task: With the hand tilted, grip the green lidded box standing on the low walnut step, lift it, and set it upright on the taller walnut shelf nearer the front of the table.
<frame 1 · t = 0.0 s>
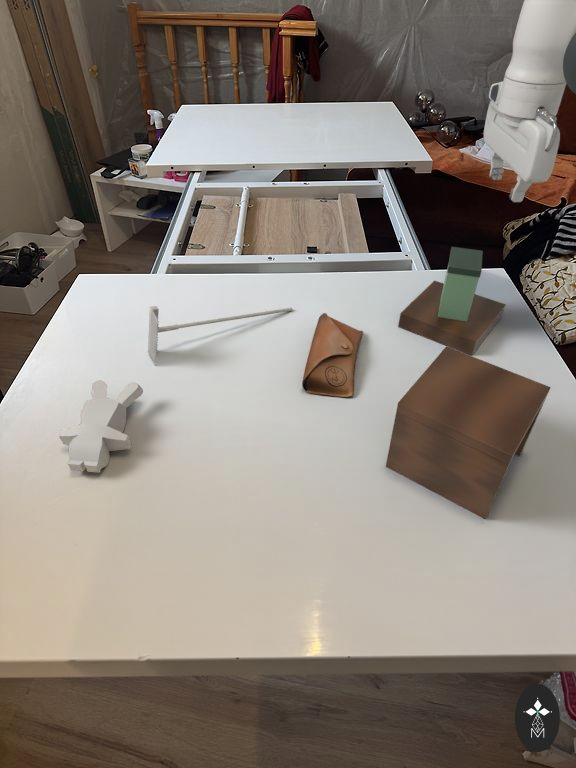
hand: (504, 189, 90), 21 cm above the table, tool pointing down, fingers open, 8 cm apart
white musician cutout: (106, 436, 77), on the table
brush: (221, 335, 95), on the table
green lidded box: (453, 308, 95), point 3 cm above the table, touching lower shelf
upper shelf: (455, 458, 73), on the table
sunglasses case: (334, 361, 89), on the table
lower shelf: (450, 322, 97), on the table
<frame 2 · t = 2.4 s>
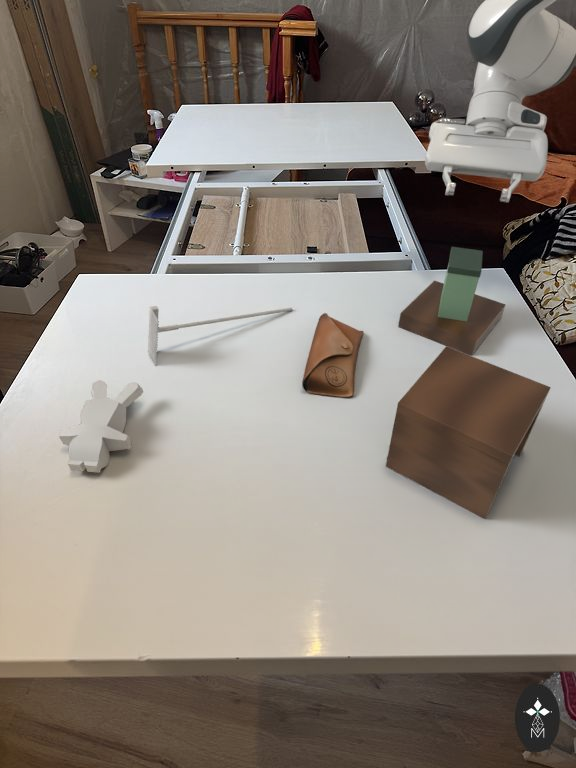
hand: (476, 197, 94), 19 cm above the table, tool tilted 45°, fingers open, 8 cm apart
nothing on the table moved.
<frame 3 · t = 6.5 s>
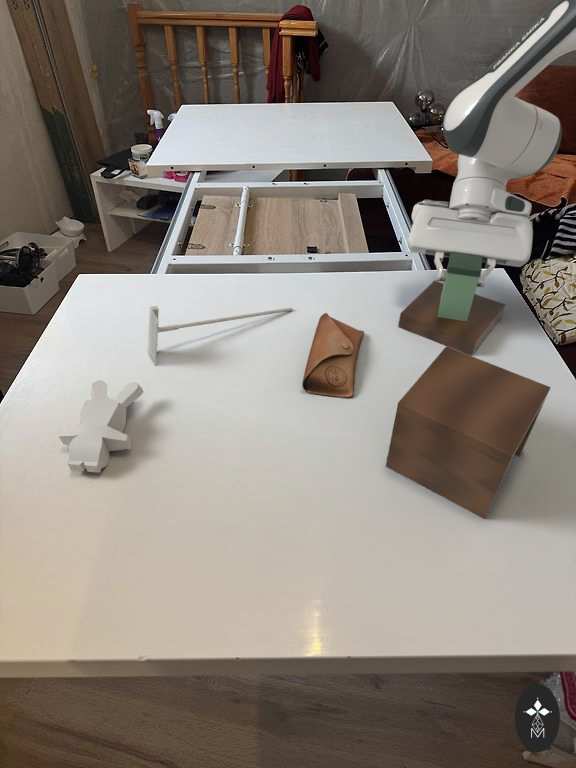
hand: (460, 283, 91), 9 cm above the table, tool tilted 45°, fingers closed on green lidded box, 5 cm apart
green lidded box: (453, 308, 95), point 3 cm above the table, touching gripper, lower shelf
everything else where it was.
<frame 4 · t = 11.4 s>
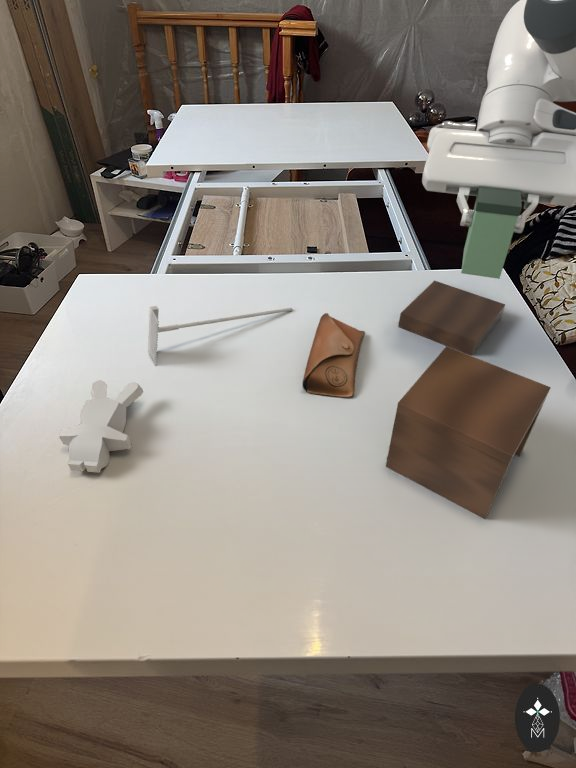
hand: (491, 228, 70), 25 cm above the table, tool tilted 45°, fingers closed on green lidded box, 5 cm apart
green lidded box: (481, 263, 74), point 20 cm above the table, touching gripper
everything else where it was.
when the fingers open (18 cm above the table, at t = 16.4 s): green lidded box stays where it is, resting on upper shelf.
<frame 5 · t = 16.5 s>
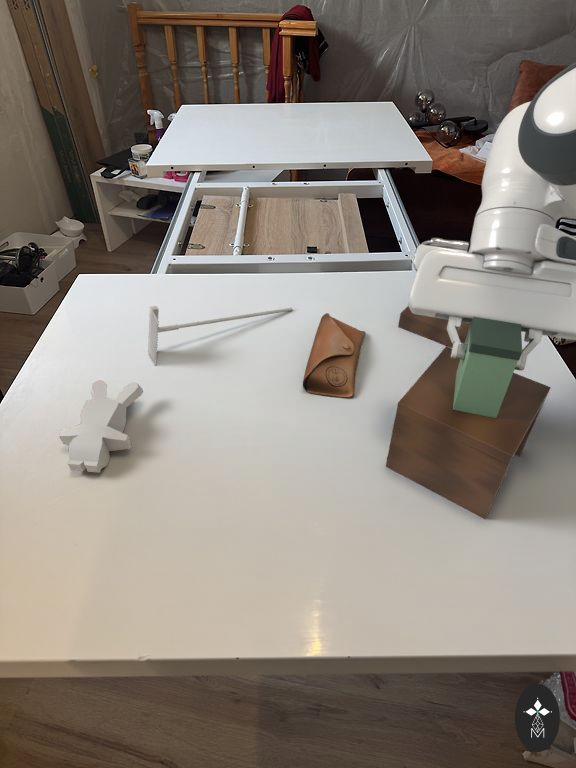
hand: (486, 363, 61), 17 cm above the table, tool tilted 45°, fingers open, 5 cm apart
green lidded box: (475, 394, 65), point 12 cm above the table, touching upper shelf
everything else where it was.
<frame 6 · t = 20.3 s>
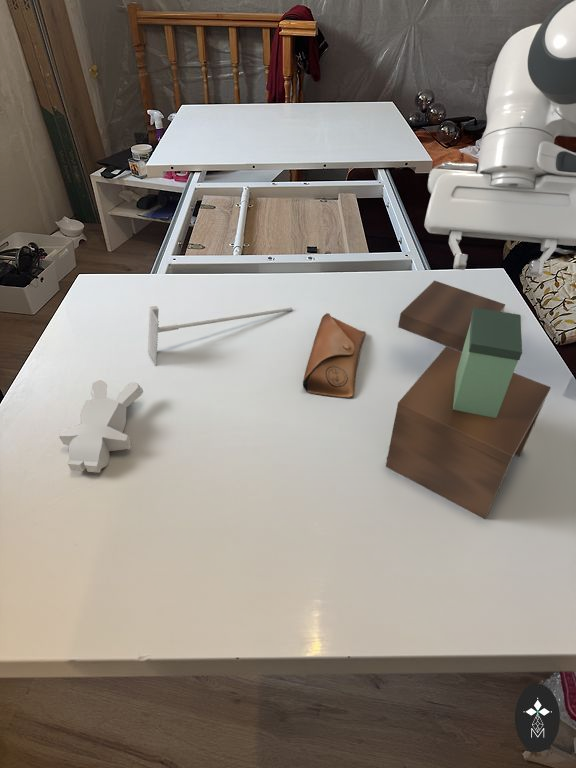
hand: (496, 272, 70), 21 cm above the table, tool tilted 40°, fingers open, 8 cm apart
nothing on the table moved.
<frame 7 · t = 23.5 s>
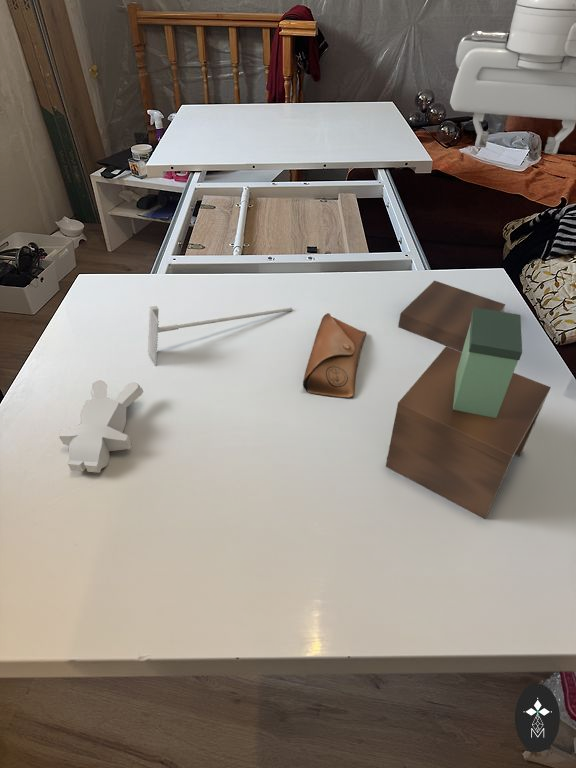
hand: (514, 149, 75), 31 cm above the table, tool pointing down, fingers open, 8 cm apart
nothing on the table moved.
at the end: green lidded box inside the target area on the upper shelf (0.0 cm from its centre), point 12.0 cm above the upper shelf's base; green lidded box tilted 0°; the gripper is holding nothing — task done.
